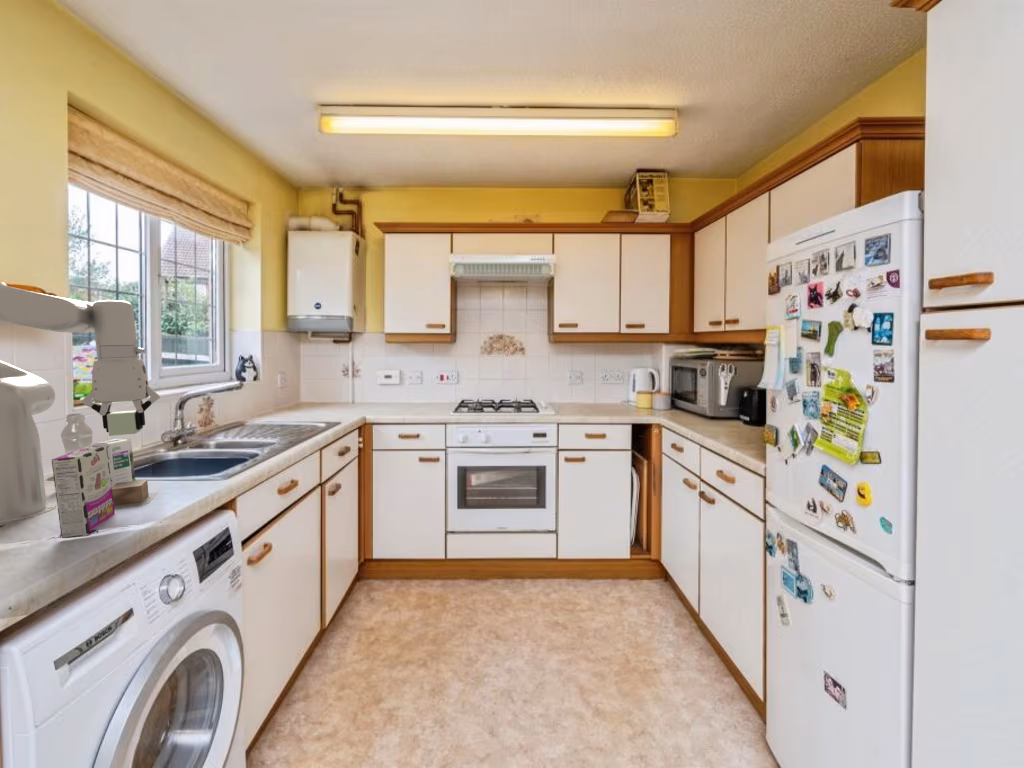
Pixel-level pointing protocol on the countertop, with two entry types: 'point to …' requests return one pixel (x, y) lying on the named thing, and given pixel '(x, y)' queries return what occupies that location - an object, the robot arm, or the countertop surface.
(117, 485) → the walnut block
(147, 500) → the plate
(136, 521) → the countertop surface
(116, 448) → the syrup box
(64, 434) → the plastic bottle
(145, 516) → the countertop surface
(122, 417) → the sage cube
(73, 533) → the candy bar box
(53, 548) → the countertop surface
